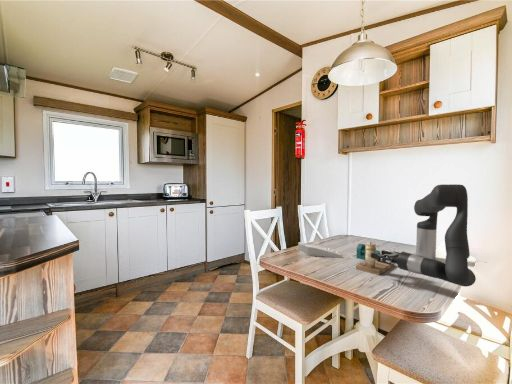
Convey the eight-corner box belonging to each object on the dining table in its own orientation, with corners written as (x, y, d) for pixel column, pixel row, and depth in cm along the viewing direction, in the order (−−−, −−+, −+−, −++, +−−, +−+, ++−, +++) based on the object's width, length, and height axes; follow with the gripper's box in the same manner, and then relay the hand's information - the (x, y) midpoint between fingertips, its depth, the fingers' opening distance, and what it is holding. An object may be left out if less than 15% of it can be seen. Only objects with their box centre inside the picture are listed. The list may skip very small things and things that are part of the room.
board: (372, 260, 139) (373, 256, 139) (394, 265, 131) (394, 261, 131) (356, 269, 125) (356, 264, 125) (379, 275, 117) (379, 270, 117)
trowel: (346, 254, 151) (346, 245, 151) (338, 261, 138) (338, 252, 138) (302, 247, 167) (302, 239, 166) (291, 253, 154) (291, 244, 153)
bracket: (368, 261, 138) (368, 247, 138) (356, 258, 143) (356, 244, 143) (382, 255, 150) (382, 241, 150) (370, 252, 155) (371, 239, 155)
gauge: (367, 264, 126) (368, 240, 126) (376, 266, 123) (377, 242, 122) (363, 266, 123) (364, 241, 123) (372, 268, 120) (373, 243, 119)
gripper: (421, 251, 110) (385, 244, 124) (404, 256, 102) (367, 247, 116) (420, 268, 110) (384, 259, 124) (403, 275, 103) (367, 264, 116)
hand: (376, 253), depth 120 cm, fingers open, 8 cm apart
